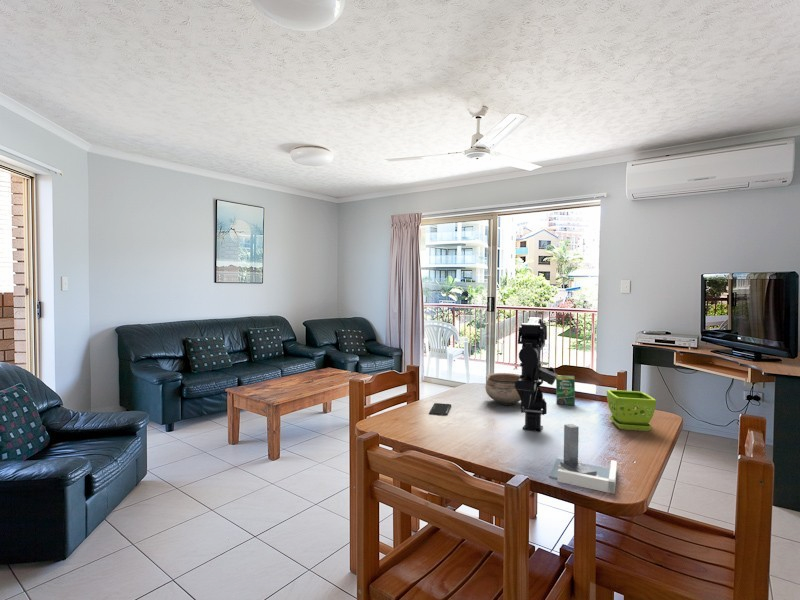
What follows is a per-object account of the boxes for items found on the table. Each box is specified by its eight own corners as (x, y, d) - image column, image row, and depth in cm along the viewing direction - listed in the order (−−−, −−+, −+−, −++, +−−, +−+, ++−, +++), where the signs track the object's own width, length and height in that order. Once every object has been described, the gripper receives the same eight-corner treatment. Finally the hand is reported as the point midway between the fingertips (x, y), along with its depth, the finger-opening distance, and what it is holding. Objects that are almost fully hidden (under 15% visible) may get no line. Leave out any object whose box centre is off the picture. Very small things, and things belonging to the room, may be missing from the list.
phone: (451, 404, 189) (447, 413, 174) (451, 406, 189) (447, 416, 175) (434, 402, 191) (428, 412, 176) (434, 405, 191) (428, 414, 176)
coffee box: (555, 404, 193) (556, 375, 192) (555, 402, 196) (556, 374, 195) (574, 405, 190) (575, 377, 190) (574, 404, 193) (574, 375, 192)
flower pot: (656, 434, 154) (657, 399, 153) (615, 431, 156) (616, 397, 156) (642, 422, 167) (643, 390, 167) (604, 419, 170) (605, 388, 170)
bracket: (559, 464, 125) (560, 425, 125) (575, 462, 127) (576, 423, 126) (579, 477, 117) (580, 435, 116) (596, 475, 118) (597, 433, 118)
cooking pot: (523, 413, 179) (524, 384, 178) (479, 407, 186) (479, 380, 186) (530, 399, 202) (531, 373, 201) (491, 394, 209) (491, 370, 209)
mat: (556, 459, 130) (556, 458, 130) (610, 470, 123) (610, 468, 123) (549, 477, 118) (549, 475, 118) (608, 490, 111) (608, 488, 111)
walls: (565, 461, 129) (565, 451, 129) (616, 471, 122) (616, 461, 122) (557, 481, 115) (557, 470, 115) (614, 493, 109) (614, 482, 109)
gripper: (550, 366, 131) (549, 416, 132) (559, 358, 147) (558, 402, 148) (514, 363, 137) (513, 411, 137) (527, 355, 153) (526, 398, 153)
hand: (529, 405), depth 144 cm, fingers open, 9 cm apart
